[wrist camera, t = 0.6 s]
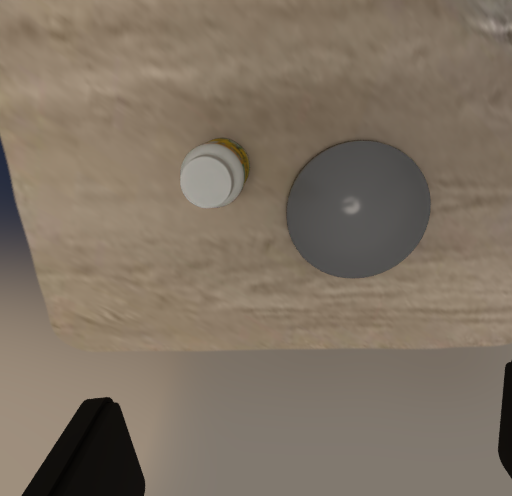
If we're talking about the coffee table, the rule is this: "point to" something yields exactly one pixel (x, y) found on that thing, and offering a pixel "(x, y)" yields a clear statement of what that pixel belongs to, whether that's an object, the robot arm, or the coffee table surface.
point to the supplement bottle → (214, 173)
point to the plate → (358, 209)
